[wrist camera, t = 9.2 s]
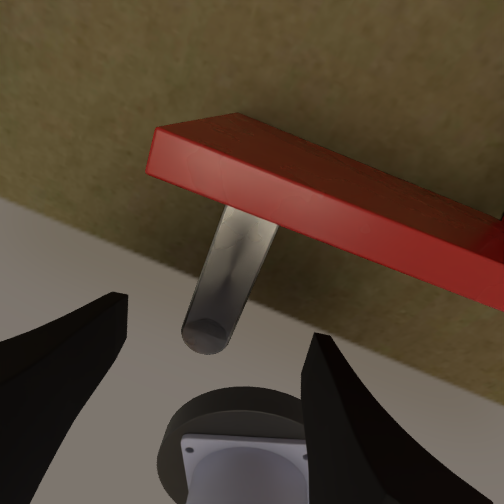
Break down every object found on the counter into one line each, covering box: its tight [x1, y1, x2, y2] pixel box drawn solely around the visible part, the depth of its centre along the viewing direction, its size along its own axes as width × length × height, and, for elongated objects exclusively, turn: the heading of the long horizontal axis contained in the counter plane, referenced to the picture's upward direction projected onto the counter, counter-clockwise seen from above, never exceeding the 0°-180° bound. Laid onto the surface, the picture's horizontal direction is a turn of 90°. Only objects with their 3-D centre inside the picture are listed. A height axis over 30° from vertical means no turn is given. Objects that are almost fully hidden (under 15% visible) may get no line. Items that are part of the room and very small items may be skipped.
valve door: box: [145, 113, 504, 355], centre depth 12 cm, size 6×13×10 cm, turn 70°
